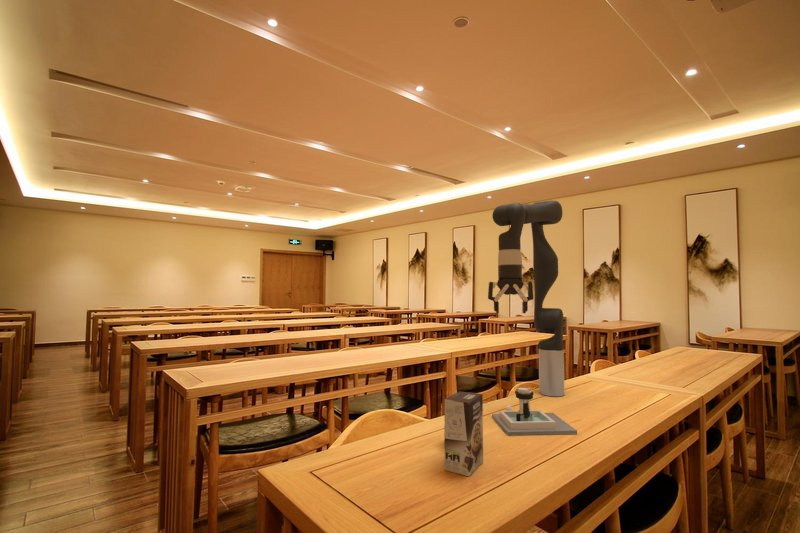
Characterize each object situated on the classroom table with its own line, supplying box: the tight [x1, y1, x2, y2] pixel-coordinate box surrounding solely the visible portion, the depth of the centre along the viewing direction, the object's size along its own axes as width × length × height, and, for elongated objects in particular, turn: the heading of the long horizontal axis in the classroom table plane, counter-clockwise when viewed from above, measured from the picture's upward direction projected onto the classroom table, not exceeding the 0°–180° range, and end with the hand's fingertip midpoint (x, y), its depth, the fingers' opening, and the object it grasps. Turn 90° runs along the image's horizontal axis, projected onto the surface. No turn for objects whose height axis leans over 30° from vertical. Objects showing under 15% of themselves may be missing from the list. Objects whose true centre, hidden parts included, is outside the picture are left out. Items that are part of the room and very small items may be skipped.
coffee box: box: [443, 390, 484, 477], centre depth 93 cm, size 9×6×16 cm
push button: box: [514, 387, 535, 422], centre depth 119 cm, size 7×5×10 cm
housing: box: [491, 404, 578, 437], centre depth 120 cm, size 16×20×4 cm
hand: (510, 313), depth 130 cm, fingers open, 8 cm apart
